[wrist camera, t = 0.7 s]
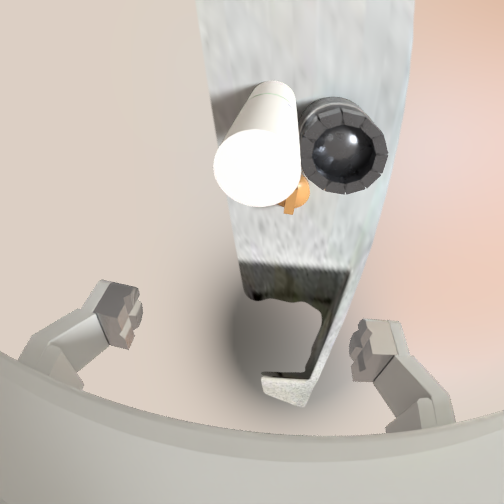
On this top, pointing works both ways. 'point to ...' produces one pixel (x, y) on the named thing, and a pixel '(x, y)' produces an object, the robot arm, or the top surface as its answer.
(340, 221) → the top surface
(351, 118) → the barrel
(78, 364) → the robot arm
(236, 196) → the cylindrical container
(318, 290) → the top surface
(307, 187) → the cap
